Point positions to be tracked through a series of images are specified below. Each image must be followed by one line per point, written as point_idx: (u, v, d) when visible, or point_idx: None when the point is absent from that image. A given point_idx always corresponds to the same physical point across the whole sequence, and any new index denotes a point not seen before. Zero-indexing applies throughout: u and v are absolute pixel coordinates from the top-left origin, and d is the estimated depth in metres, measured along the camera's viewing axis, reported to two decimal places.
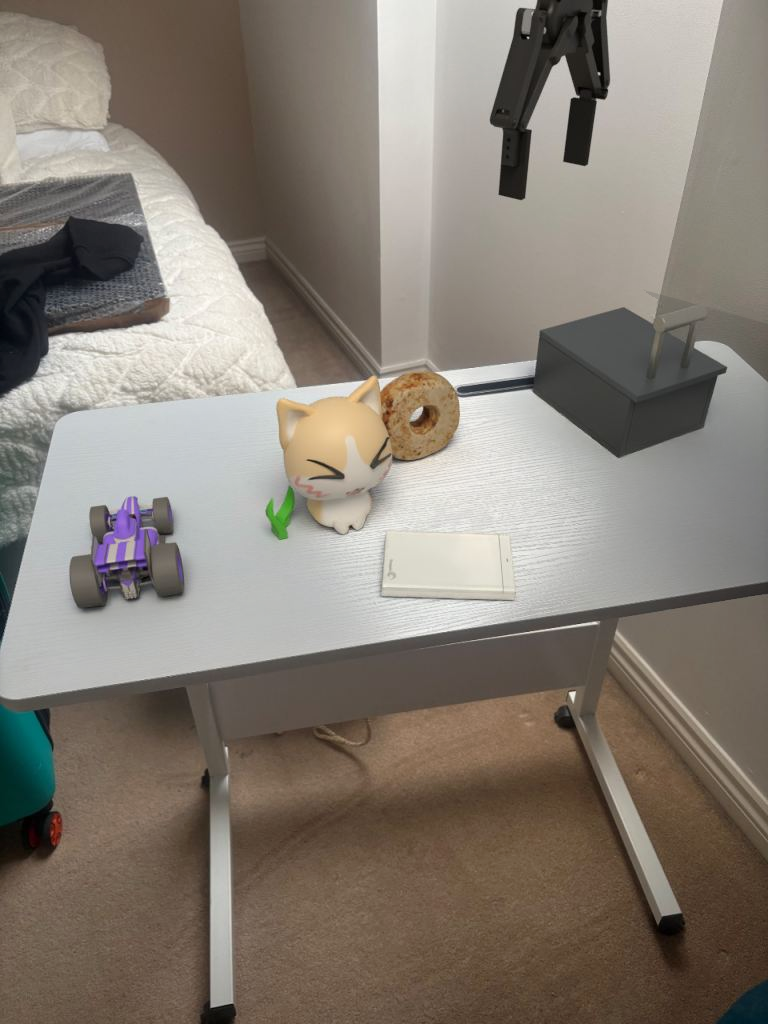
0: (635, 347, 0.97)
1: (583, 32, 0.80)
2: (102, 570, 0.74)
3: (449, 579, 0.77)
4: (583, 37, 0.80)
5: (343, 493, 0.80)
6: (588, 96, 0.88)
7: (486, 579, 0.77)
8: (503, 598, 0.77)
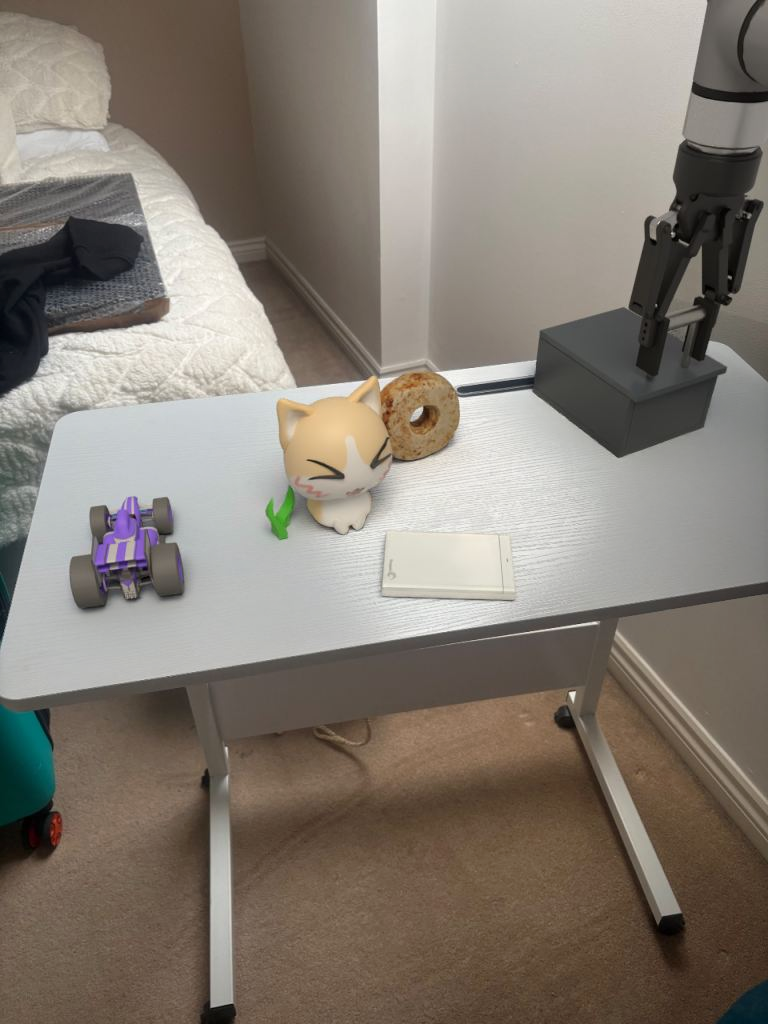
0: (635, 347, 0.97)
1: None
2: (102, 570, 0.74)
3: (449, 579, 0.77)
4: (721, 232, 0.82)
5: (343, 493, 0.80)
6: (711, 297, 0.89)
7: (486, 579, 0.77)
8: (503, 598, 0.77)
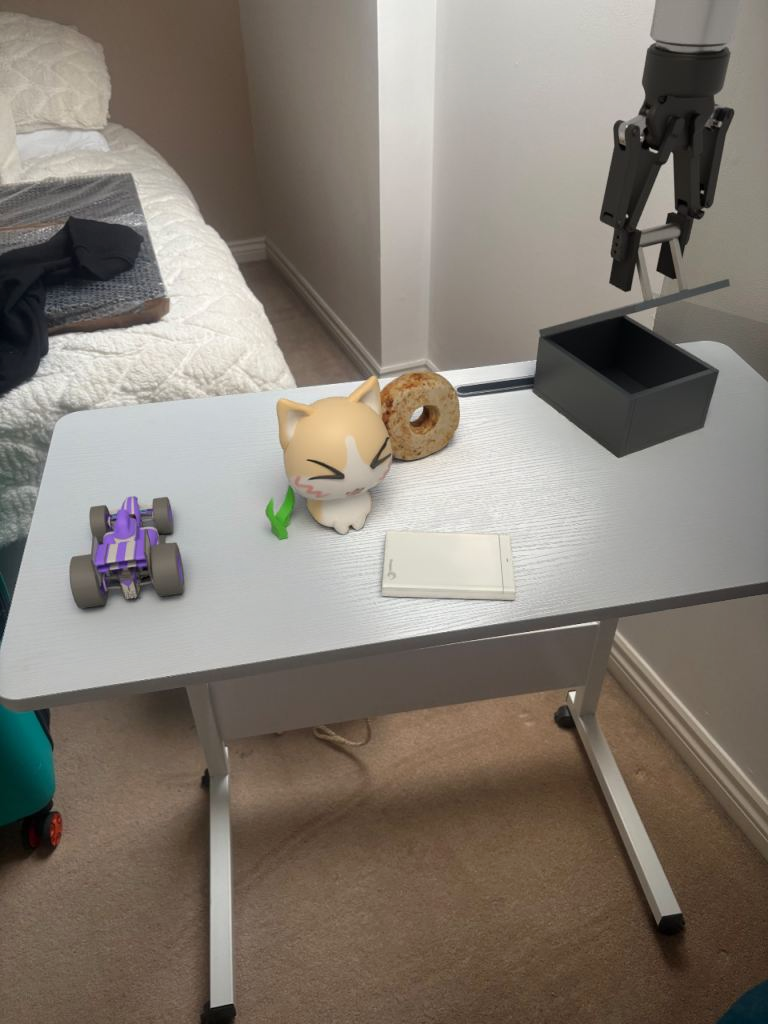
0: (633, 304, 0.95)
1: (695, 132, 0.81)
2: (102, 570, 0.74)
3: (449, 579, 0.77)
4: (691, 138, 0.82)
5: (343, 493, 0.80)
6: (684, 211, 0.88)
7: (486, 579, 0.77)
8: (503, 598, 0.77)
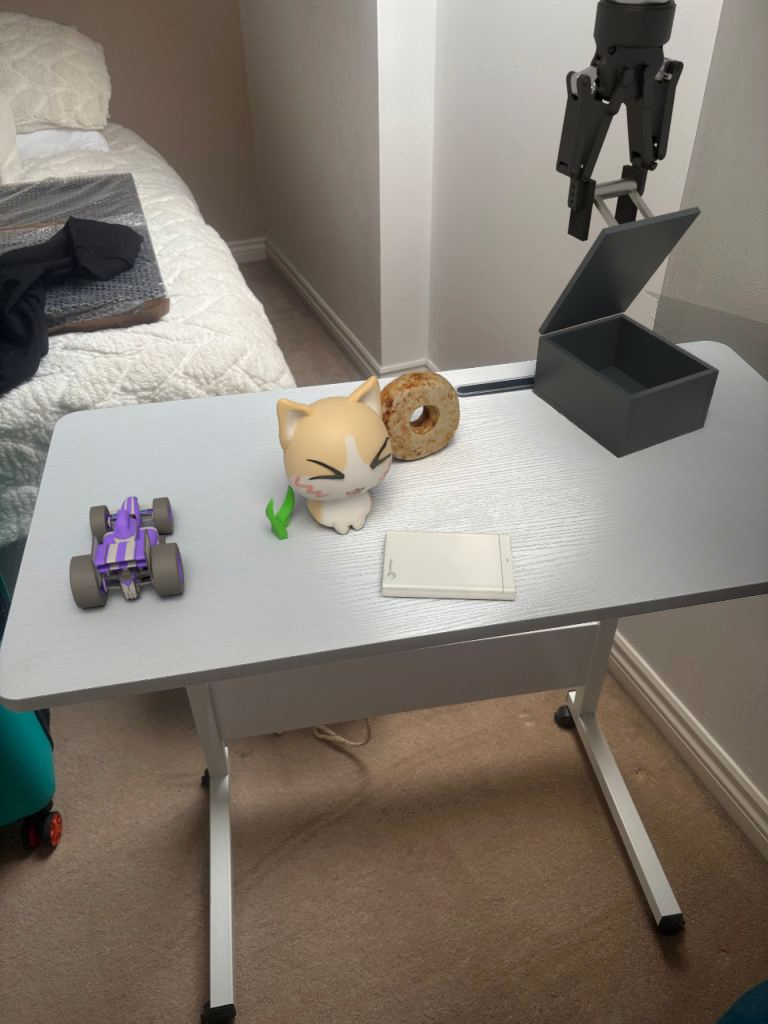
0: None
1: (645, 83, 0.85)
2: (102, 570, 0.74)
3: (449, 579, 0.77)
4: (642, 90, 0.85)
5: (343, 493, 0.80)
6: (638, 163, 0.92)
7: (486, 579, 0.77)
8: (503, 598, 0.77)
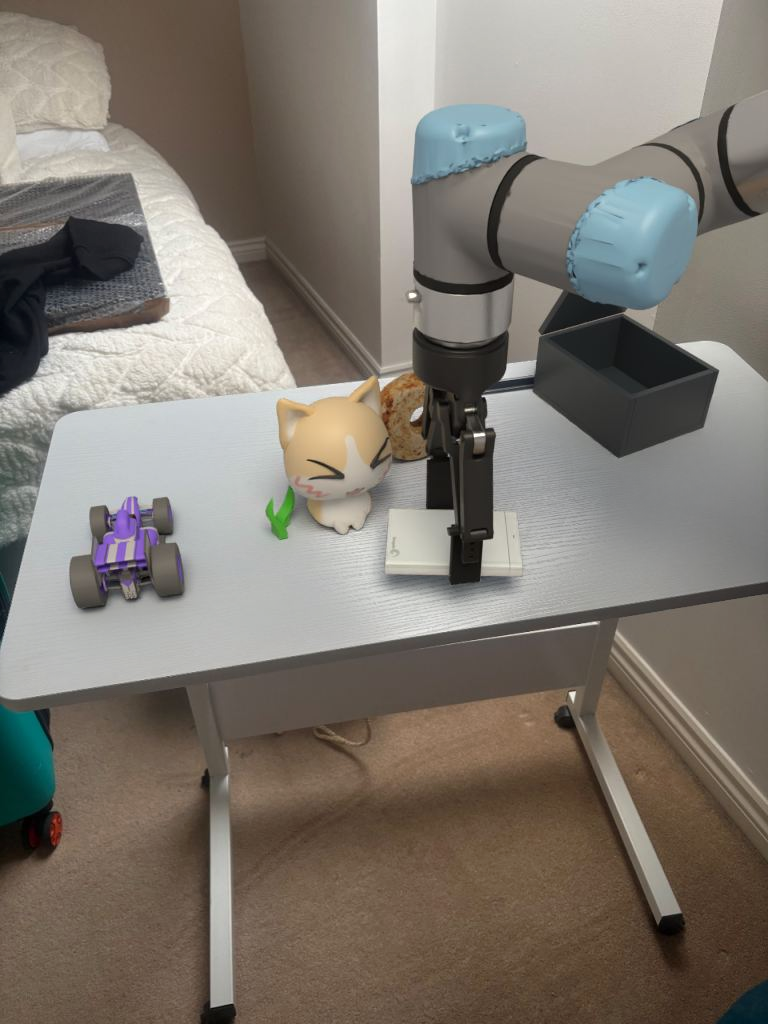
0: None
1: None
2: (102, 570, 0.74)
3: None
4: None
5: (343, 493, 0.80)
6: (444, 454, 0.78)
7: (492, 555, 0.75)
8: (510, 575, 0.75)
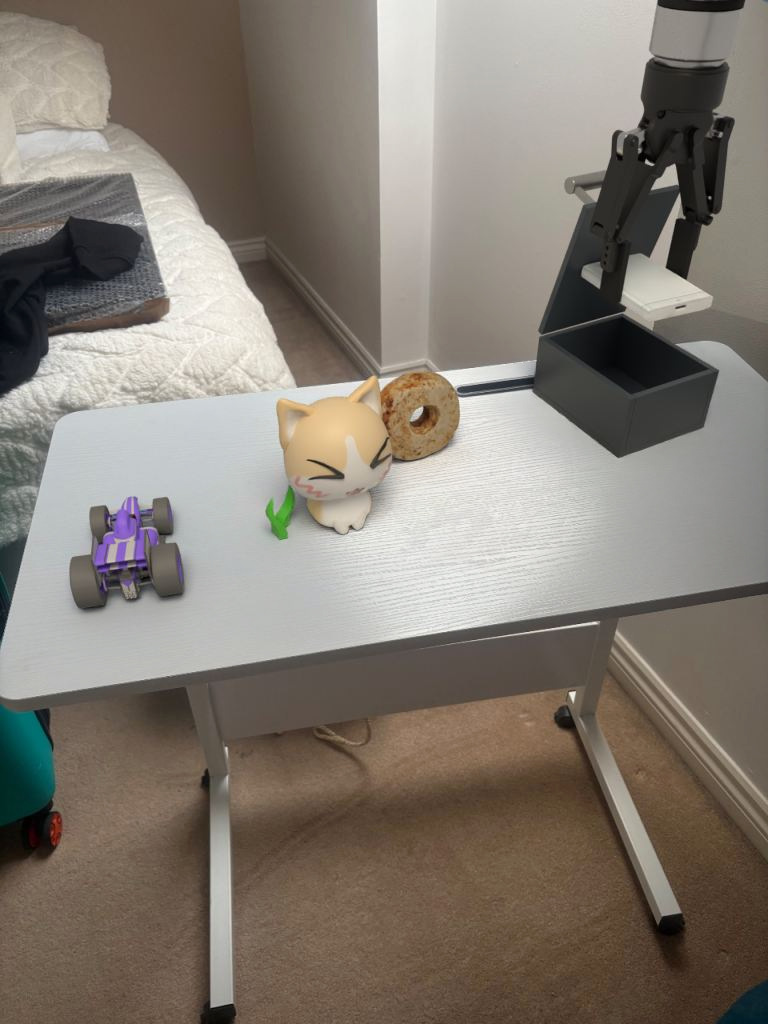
0: None
1: (694, 146, 0.81)
2: (102, 570, 0.74)
3: None
4: (692, 152, 0.82)
5: (343, 493, 0.80)
6: (692, 218, 0.88)
7: (644, 296, 0.87)
8: (641, 315, 0.86)
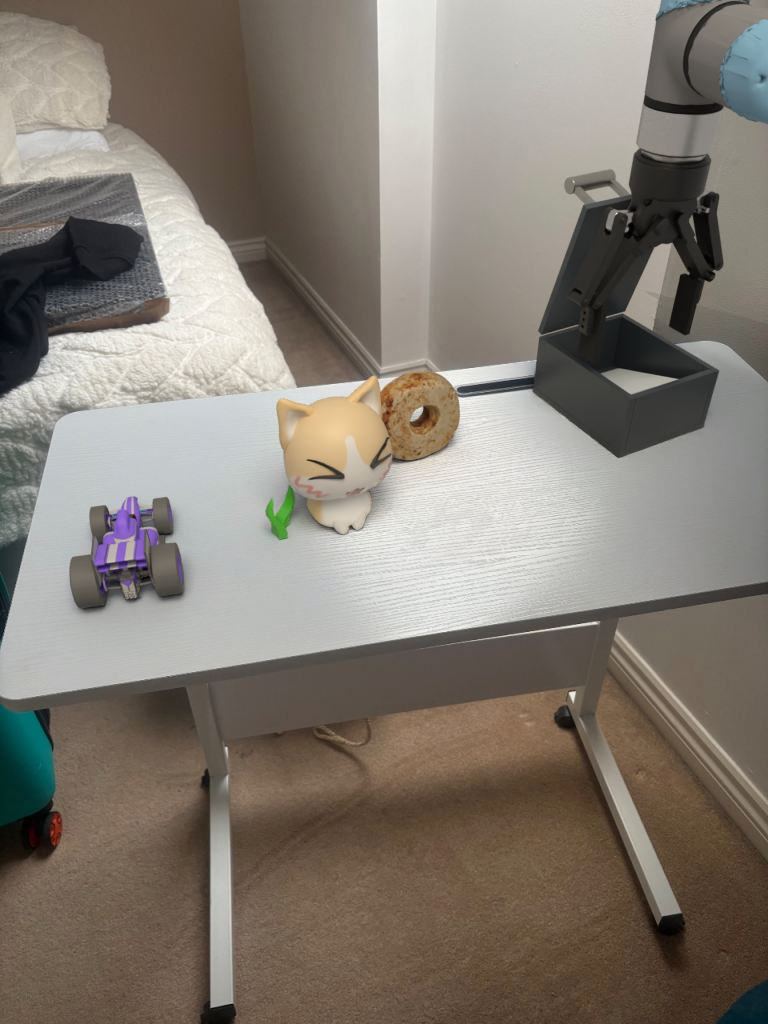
0: None
1: (679, 228, 0.87)
2: (102, 570, 0.74)
3: None
4: (680, 232, 0.87)
5: (343, 493, 0.80)
6: (696, 276, 0.94)
7: (627, 390, 0.95)
8: None
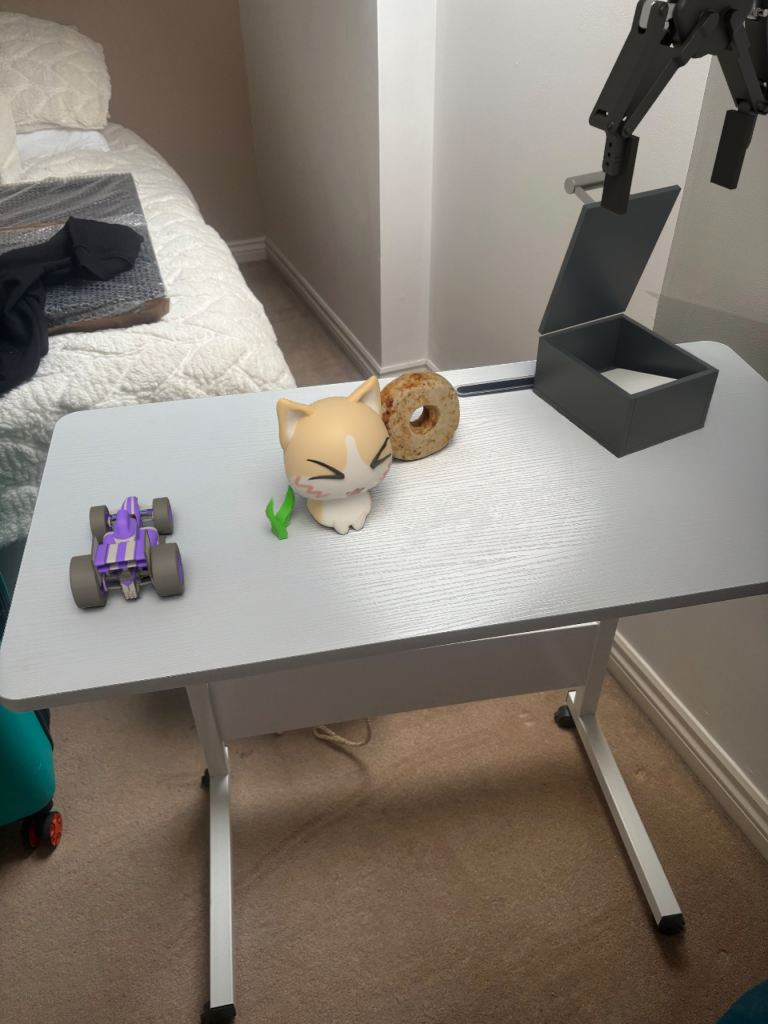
0: None
1: (731, 32, 0.69)
2: (102, 570, 0.74)
3: None
4: (732, 38, 0.69)
5: (343, 493, 0.80)
6: (746, 109, 0.76)
7: (627, 390, 0.95)
8: None
